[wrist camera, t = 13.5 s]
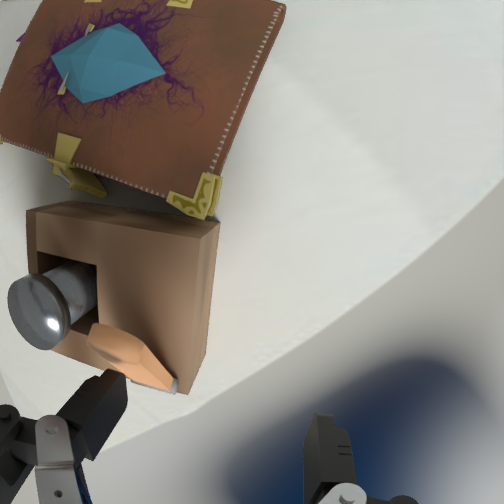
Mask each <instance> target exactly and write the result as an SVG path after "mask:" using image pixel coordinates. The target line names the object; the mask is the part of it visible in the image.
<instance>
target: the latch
mask: <svg viewBox="0 0 504 504" xmlns="http://www.w3.org/2000/svg"><path fill="white" fill-rule="evenodd" d="M86 344H87V345H88V346H89V347H91V348H92V349H93V350H94V351H95V352H97V353H98V354H99V355H100V356H102V357H103V358H104V359H105V360H107V361H108V362H109V363H110V364H112V365H113V366H114V367H116V368H117V369H118V370H120V371H121V372H122V373H124V374H125V375H126V376H128V377H129V378H130V379H131V382H132V383H135V384H138V385H142V386H145V387H149V388H152V389H156V390H159V391H163V392H167V393H170V394H174V395H175V394H176V392H177V389H178V385H179V379H176V378H173V377H172V376H171V375H170V374H169V373H168V372H167V370H166V369H165V368H164V367H163V366H162V364H161V363H160V362H159V361H158V360H157V358H156V357H155V356H154V355H153V354H152V352H151V351H150V350H149V349H148V347H147V346H146V345H145V344H144V342H142V341H141V340H140V339H138V338H137V337H135V336H133V335H131V334H129V333H127V332H125V331H123V330H120V329H118V328H115V327H112V326H109V325H105V324H101V323H94V324H92V327H91V330H90V332H89V335H88V338H87V341H86Z"/></svg>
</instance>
